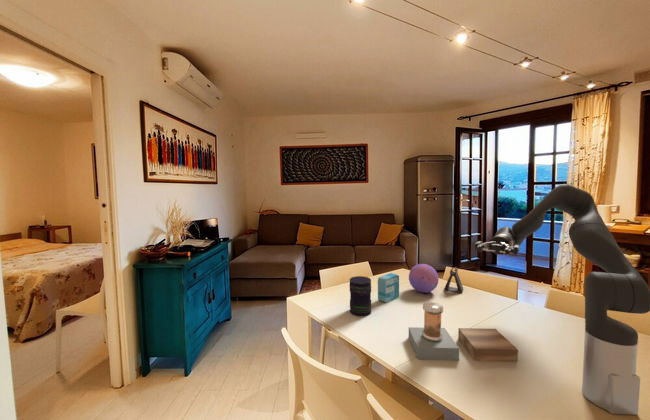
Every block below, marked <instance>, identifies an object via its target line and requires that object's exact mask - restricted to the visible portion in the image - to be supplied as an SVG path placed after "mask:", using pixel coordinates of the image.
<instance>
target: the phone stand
mask: <svg viewBox="0 0 650 420" xmlns="http://www.w3.org/2000/svg"><path fill="white" fill-rule="evenodd" d="M458 271H459V270H458V268H457V267H456V266H453V267H451V268H450V271H449V277H448V279H447V282H446V284H445V286H444V289H443V291H448V292H453V293H459V294H463V292H464V287H463V284H462V281H461V279H460V276H459V274H458V273H459V272H458ZM453 277H454V280H455V285H456V287H453V286H451V282H452V278H453Z"/></svg>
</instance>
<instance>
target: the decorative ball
mask: <svg viewBox="0 0 650 420" xmlns="http://www.w3.org/2000/svg"><path fill="white" fill-rule="evenodd" d="M408 280H409V284H410V286H411V287H412V288H413V289H414V290H416V291H417V292H420V293H424V294H425V293H430V292H433V291H434V290H435V289H436V288H437V286H438V284H439V274H438V273H437V270H436V269H435V268H434V267H433V266H431V265H429V264H427V263H418V264H416V265H414V266H413V267H412V268H411V269H410V271H409V274H408Z"/></svg>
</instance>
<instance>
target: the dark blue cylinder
mask: <svg viewBox="0 0 650 420" xmlns="http://www.w3.org/2000/svg"><path fill="white" fill-rule="evenodd" d="M371 294H372V279H371V278H370V277H367V276H361V275H358V276H352V277H350V278H349V295H350V299H349V308H350V310H349V313H350V314H351V315H353V316H355V317H361V316H362V317H363V318H364V317H367V316H370V315H371V314H372V299H371V297H372V296H371Z"/></svg>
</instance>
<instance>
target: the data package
mask: <svg viewBox="0 0 650 420" xmlns="http://www.w3.org/2000/svg"><path fill="white" fill-rule="evenodd" d="M399 296H400V275H399V274H396V273H392V272H389V273H387V274H384V275H381V276H379V277H378V278H377V299H378V301H380V302H384V303H389V302H391V301H393V300H396V299H397V298H399Z"/></svg>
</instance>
